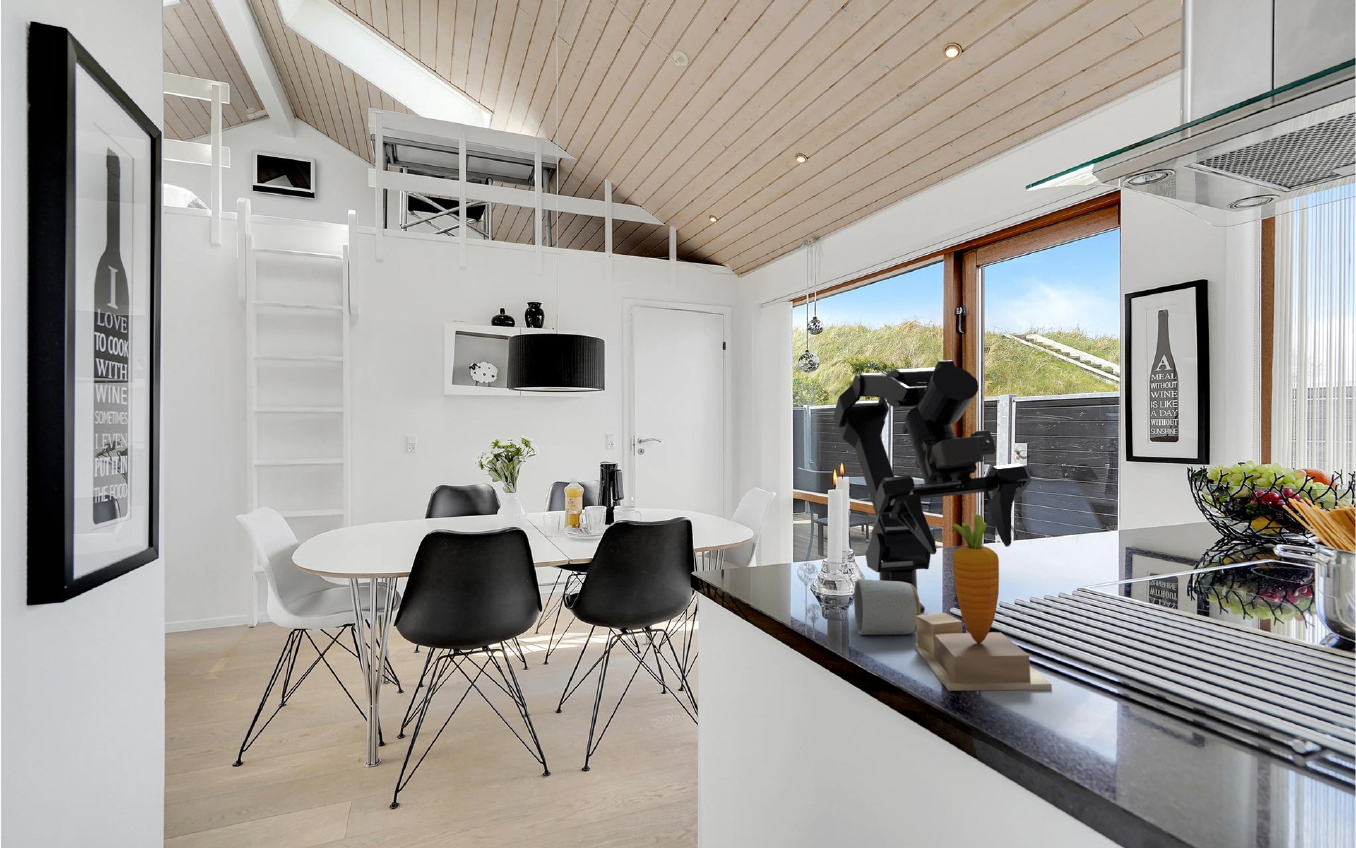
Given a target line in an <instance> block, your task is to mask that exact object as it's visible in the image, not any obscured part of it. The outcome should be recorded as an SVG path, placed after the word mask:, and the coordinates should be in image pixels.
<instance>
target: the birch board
mask: <svg viewBox="0 0 1356 848" xmlns="http://www.w3.org/2000/svg"><path fill="white" fill-rule="evenodd" d="M914 649H915V650H916V651H917V652H918V654H919V655H920V656H921V658H923V660H924V661H925V662H926V664H927V666H928V667H930V669H931V670H932V672H933V673H934V674H935V676H936V677H937V678H938V680H939V681H940V682H941V683H942V684H943V686H944V687H945V688H946V690H947V691H948V692H949V691H1030V690H1031V691H1036V690H1037V691H1047V690H1049V691H1050V690H1053V687H1052V686H1053V683H1051V682H1050V681H1049V680H1048V679H1046V678H1045V677H1044V676H1043V675H1041V674H1040V673H1039V672H1038V671H1036V670H1035V669H1034V668H1033V667H1032V666H1031V665H1030V682H1031V683H955V682H954V681H953V679H952V678H951V677H950V676H949V674H948V673H947V672H946V671H945V670H944V668H943V667H942V666H941V665H940V664H939V662H938V661H937V660H936V659H935V656H933V655H931V654H930V653H928V652H926V651H925V650H923V649H921V648H920V647H918V644H917V643H914Z"/></svg>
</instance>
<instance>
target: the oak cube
mask: <svg viewBox="0 0 1356 848" xmlns="http://www.w3.org/2000/svg"><path fill="white" fill-rule="evenodd" d="M916 624H917V631H916V641H917V644H918V647H920V648H921V649H923V650H925V651H926V652H928V653H930V654H931V655H933V656H935V649H934V634H952V633H964V632H963V621H962V620H960V619H959V618H956V617H954V616H952V615H950V614H947V613H946V612H937V613H928V614H921V615H917V616H916Z"/></svg>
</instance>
